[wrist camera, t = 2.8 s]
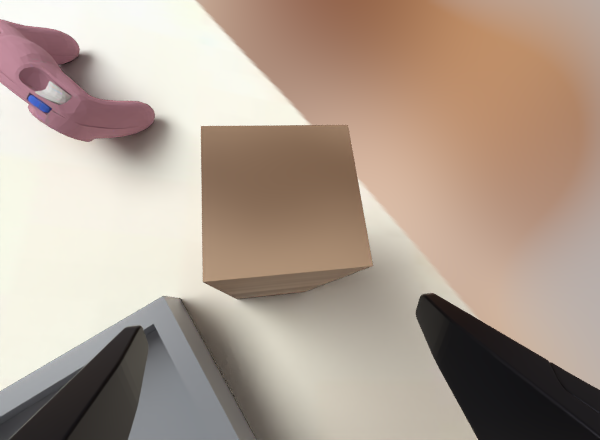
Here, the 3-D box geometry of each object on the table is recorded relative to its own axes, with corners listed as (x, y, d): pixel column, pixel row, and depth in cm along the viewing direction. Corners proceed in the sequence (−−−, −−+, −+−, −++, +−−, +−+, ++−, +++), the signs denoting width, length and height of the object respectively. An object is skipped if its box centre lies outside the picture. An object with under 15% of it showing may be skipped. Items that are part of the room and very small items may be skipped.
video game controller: (47, 86, 23) (-80, 36, 16) (77, 38, 23) (-42, -35, 16) (132, 164, 22) (36, 146, 15) (166, 116, 22) (81, 75, 15)
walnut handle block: (303, 292, 20) (373, 265, 8) (236, 299, 19) (202, 281, 7) (296, 228, 21) (347, 125, 9) (233, 233, 20) (200, 126, 8)
